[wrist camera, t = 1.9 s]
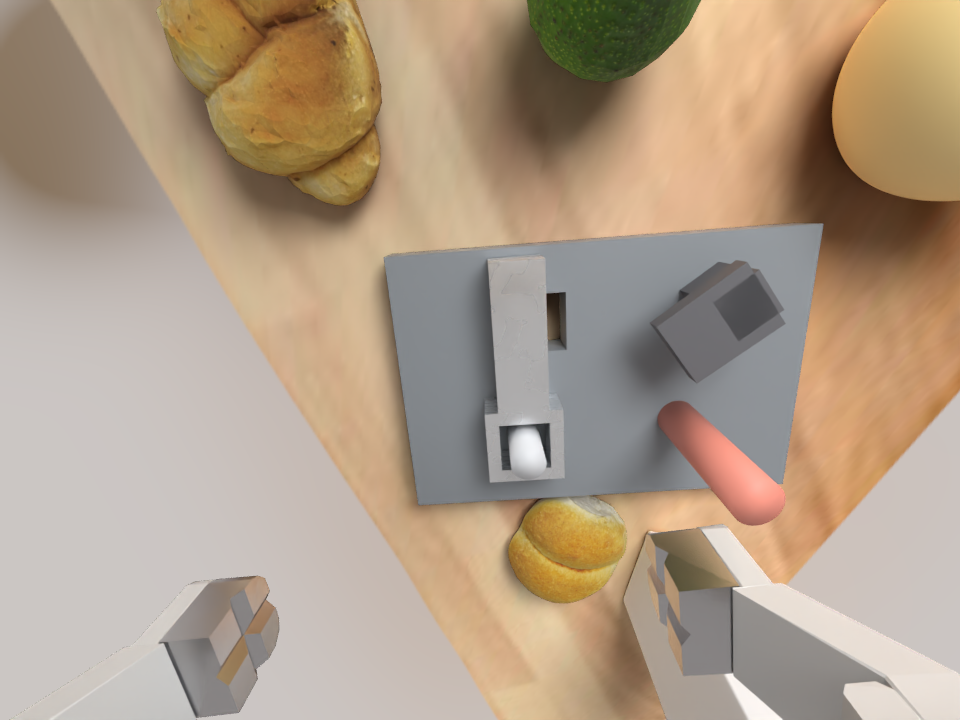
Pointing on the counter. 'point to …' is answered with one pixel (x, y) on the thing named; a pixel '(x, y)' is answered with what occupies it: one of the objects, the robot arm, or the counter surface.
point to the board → (609, 357)
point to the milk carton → (685, 699)
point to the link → (521, 364)
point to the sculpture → (903, 101)
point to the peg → (722, 465)
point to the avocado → (608, 33)
